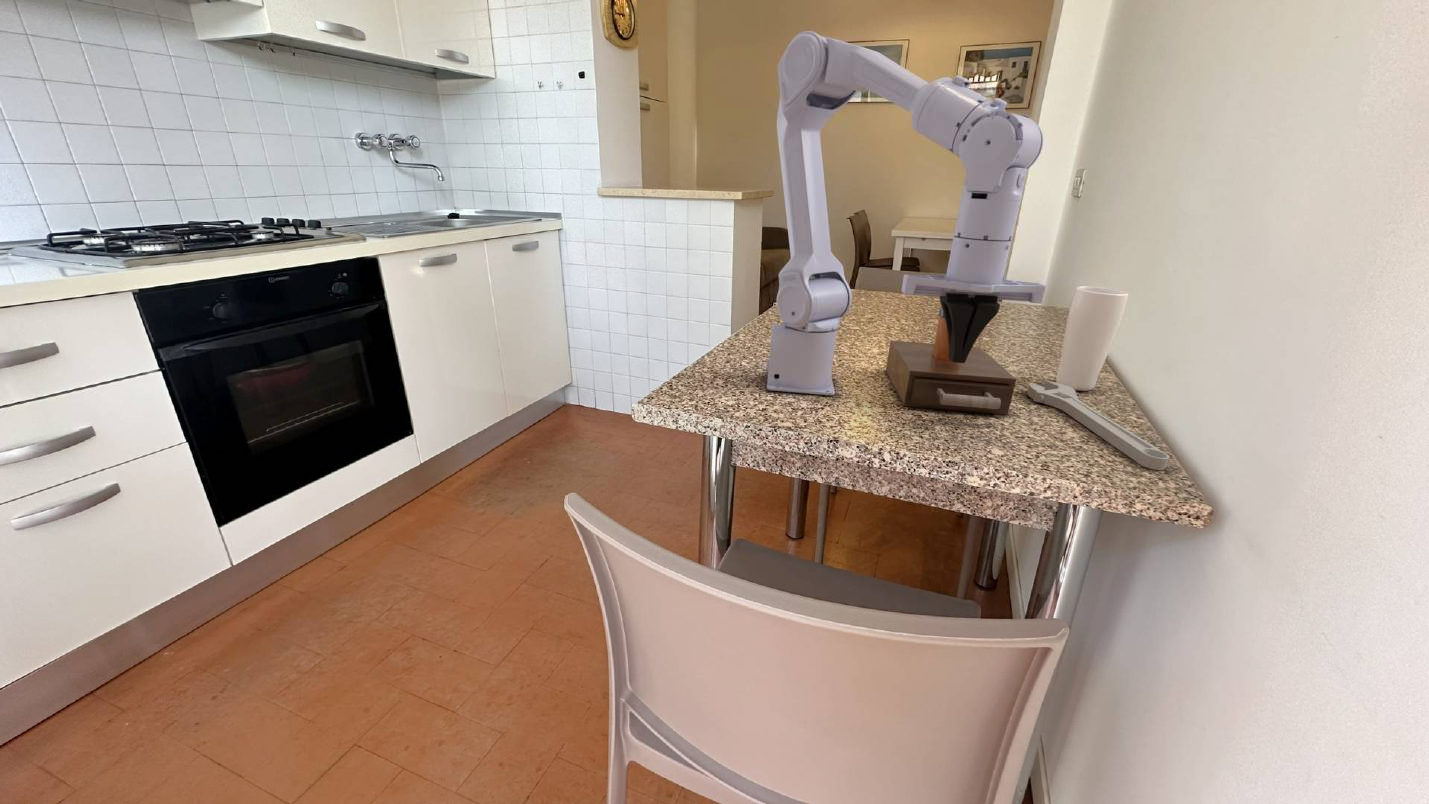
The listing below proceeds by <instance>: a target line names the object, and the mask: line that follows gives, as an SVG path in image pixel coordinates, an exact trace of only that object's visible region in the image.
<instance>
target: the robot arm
mask: <svg viewBox="0 0 1429 804" xmlns="http://www.w3.org/2000/svg"><path fill="white" fill-rule="evenodd" d="M777 73H778V74H777V78H778V85H779V102H778V108H777V114H776V115H777V116H776V133H777V141H778V151H779V160H780V170H781V179H782V188H783V197H784V206H785V216H786V225H787V234H788V235H787V236H788V244H789V255H790V259H789V260H788V262H787V263H786V264H785V265H784V266H783V267H782V269H781V270H780V271H779V273H778V291H777V295H776V310H777V313H778V315H779V318H780V319H781V320H782V323H778V322H777V323H772V325H771V333H770V345H769V346H770V347H769V358H768V360H766V364H765V365H766V367H765V374H767V382H766V390H768V391H774V392H775V391H776V392H786V393H787V392H788V393H796V394H797V393H798V394H810V395H821V396H834V395H835V393H836V391H835V388H834V383H833V379H832V375H833V365H834V357H835V349H836V341H837V336H838V335H837V333H838V327H839V326H840V325H841V318H843V317H845V315H847V313H848V312H849V310H850V309H851V306H852V302H853V301H852V300H853V294H852V290H851V287H850V284H849V283H848V281H847V279H846V276H845V271H844V265H843V264H842V263H841V261H839V259H838V258H837V257H836V256H835V255H834V253H833V252H832V246H831V245H832V244H831V236H830V225H829V213H828V204H827V203H828V202H827V194H826V185H825V184H826V181H825V171H824V162H823V151H822V141H821V140H822V139H821V130H822V129H823V127H824V126H825V125H826V123H827V122H828V121H830V120H831V119H832V118H833V117H834V116H835V115H836V114H837V113H838V112H839V111H841V110H842V109H843V107H844V106H846V105H847V104H848V103H849V102H850V101H851V100H852V99H853V98H854V97H855V96H856V95H857V94H858V93H866V92H868V91H870V92H871V93H874V94H875V95H877V96H879V97H881V98H883V99H885V100H887V101H889V102H891V103H892V104H894V105H896V106H897V107H900V108H902V109H904V110H906V111H907V112H909V113H910V114H911V125H912V128H913V130H914V131H915V132H916V133H918V134H920V135H922V136H923V137H925V138H926V139H928V140H930V141H931V142H934V144H936V145H938V146H940V147H941V148H943V149H945V150H946V151H948V152H950V153H951V154H953V155H954V156H956V157H958V158H959V159H960V161H961V164H962V165H963V167H964V171H965V176H964V182H963V187H962V191H961V196H960V202H959V208H958V213H957V217H956V223H955V228H954V234H953V238H952V243H951V249H950V254H949V259H948V263H947V268H946V274H943V275H941V274H903V279H902V285H901V293H902V294H904V295H906V296H907V295H908V296H914V295H924V296H925V295H926V296H938V297H939V304H940V307H941V306H942V309H943V312H944V316H945V320H946V325H947V332H948V343H949V354H948V358H949V359H950V360H951V361H952V362H955V363H965V362H966V359H967V357H968V355H969V353H970V351H971V349H972V347H974V345H975V344H976V341H977V340H978V339H979V336H981V334H982V333H983V331H984V330H985V329H986V327H987V326H988V325H989V323H990V322H991V321H992V320H993V319H994V318H995V317H996V316H997V314H998V313H999V310H1000V307H1001V304H1000V303H998V300H999V301H1000V300H1001V301H1014V302H1028V303H1032V304H1040V305H1041V304H1043V300H1044V296H1045V292H1046V288H1047V286H1046V285H1045V284H1042V283H1040V282H1030V281H1019V280H1010V279H1004V276H1005V271H1006V267H1007V262H1008V257H1009V254H1010V249H1011V245H1012V241H1013V238H1014V237H1013V236H1014V232H1015V227H1016V223H1017V219H1018V214H1019V211H1020V206H1021V201H1022V198H1023V192H1024V187H1025V182H1026V178H1027V173H1028V170H1029V169H1030V168H1031V167H1032V166H1033V165H1034V164H1035V163H1036V161H1037V160H1038V158H1039V156H1040V154H1041V153H1042V149H1043V146H1044V134H1043V132H1042V129H1041V127H1040V126H1039V124H1038V123H1037V122H1035V121H1034V120H1033V119H1032V118H1031V116H1030V115H1029V114H1023V113H1012V112H1008V111H1006V108H1007V106H1008V102H1007V101H1006V100H1004V99H1001V98H999V97H995V98H994V99H993V100H992V99H989V98H988V97H986V96H984V95H982V94H980V93H978V92H976V91H975V90H972V89H971V88H969V87H970V85H971V83H972V82H971V80H970V79H967V78H965V77H963V76H960V75H957V74H956V75H954V76H953V79H952V78H951V77H948V76H944V77H940V78H937V79H935V80H933V81H930V82H928V81H926V80H925V79H923V78H921V77H920V76H918V75H917V74H915V73H914V72H912V71H910V70H908V69H906V68H905V67H903V66H902V65H900V64H898V63H896V61H894V60H892V59H890V58H889V57H887V56H885V55H884V54H882V53H880V52H878V51H876V50H874V49H869V48H866V47H864V46H860V45H858V44H854V43H850V42H846V41H844V40H839V39H836V38H833V37H828V36H822V35H820V34H818V33H817V32H815V31H811V30H805V31H801V32H799V33H797V34H796V35H795V36H794V37H793V38H792V39H791V40H790V42H789V44H788V45H787V47H786V49H785V51H784V52H783V55H782V56H781V58H780V60H779V62H778V64H777ZM810 277H813V278H810Z"/></svg>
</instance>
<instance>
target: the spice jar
mask: <svg viewBox="0 0 1429 804" xmlns="http://www.w3.org/2000/svg"><path fill="white" fill-rule="evenodd" d="M933 344H934V346H933V351H932V356H933V357H935V358H938V359H941V360H946V361H951V360H950V359H949V358H948V354H949V343H948V332H947V325H946V320H945V316H944V312H943V309H942V306H941V305H940V307H939V310H938V320H937V325H936V331H935V336H934V342H933Z"/></svg>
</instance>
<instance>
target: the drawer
mask: <svg viewBox="0 0 1429 804" xmlns="http://www.w3.org/2000/svg"><path fill="white" fill-rule="evenodd" d="M1012 393H1013V394H1014V391H1013V387H1011V386H1010V385H1001V384H1000V383H988V382H975V381H963V380H951V379H938V378H926V377H915V378H914V379H913V385H912V390H911V395H910V402H911V403H912V404H924V405H935V406H947V407H959V408H971V409H983V410H994V411H1006V412H1007V411H1008V408H1009V409H1010V407H1009V404H1010V405H1011V403H1010V400H1011V401H1012V399H1011V396H1012V397H1013V395H1012ZM1008 412H1009V411H1008Z"/></svg>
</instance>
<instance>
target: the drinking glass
mask: <svg viewBox="0 0 1429 804" xmlns="http://www.w3.org/2000/svg"><path fill="white" fill-rule="evenodd" d="M1129 296H1130V294H1129V292H1127V291H1124V290H1120V289H1116V288H1115V289H1114V288H1108V287H1102V286H1101V287H1100V286H1087V285H1085V286H1077V287H1076V288H1075V290H1074V293H1073V296H1072V300H1071V303H1070V306H1069V310H1068V314H1067V319H1066V324H1065V330H1064V337H1063V342H1062V347H1061V352H1060V353H1061V354H1060V359H1059V364H1058V369H1057V373H1056V377H1055V382H1056V383H1060V384H1064V385H1067V386H1069V387H1071V388H1073V389H1074V390H1075V391H1076V392H1089V391H1093V390H1094V389H1095V387H1096V386H1097V382H1098V379H1099V376H1100V374H1101V371H1102V368H1103V366H1104V364H1105V361H1106V359H1107V356H1108V354H1109V352H1110V349H1111V347H1112V344H1113V343H1114V340H1115V337H1116V335H1117V332H1118V330H1119V328H1120V325H1121V323H1122V320H1123V318H1124V314H1125V310H1126V307H1127V303H1128V301H1129V300H1128V299H1129Z"/></svg>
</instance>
